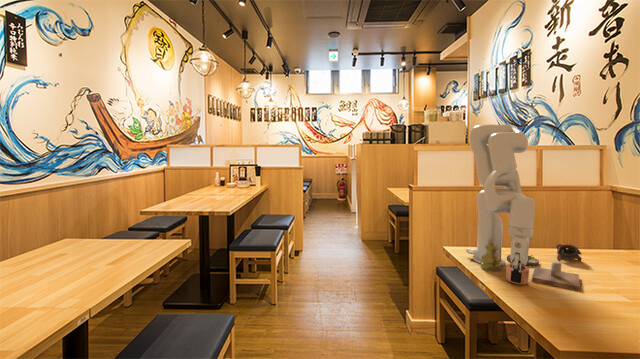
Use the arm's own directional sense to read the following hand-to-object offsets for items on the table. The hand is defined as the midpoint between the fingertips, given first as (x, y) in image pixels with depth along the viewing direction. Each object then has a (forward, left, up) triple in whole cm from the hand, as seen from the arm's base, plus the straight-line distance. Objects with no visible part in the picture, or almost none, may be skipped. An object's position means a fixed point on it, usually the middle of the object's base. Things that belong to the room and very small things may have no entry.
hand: (516, 278), depth 122 cm
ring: (0, 0, -1) cm, 1 cm away
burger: (-1, +27, -2) cm, 27 cm away
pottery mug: (+15, +42, -2) cm, 45 cm away
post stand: (+11, +11, -2) cm, 16 cm away
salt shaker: (-10, +10, -2) cm, 15 cm away
